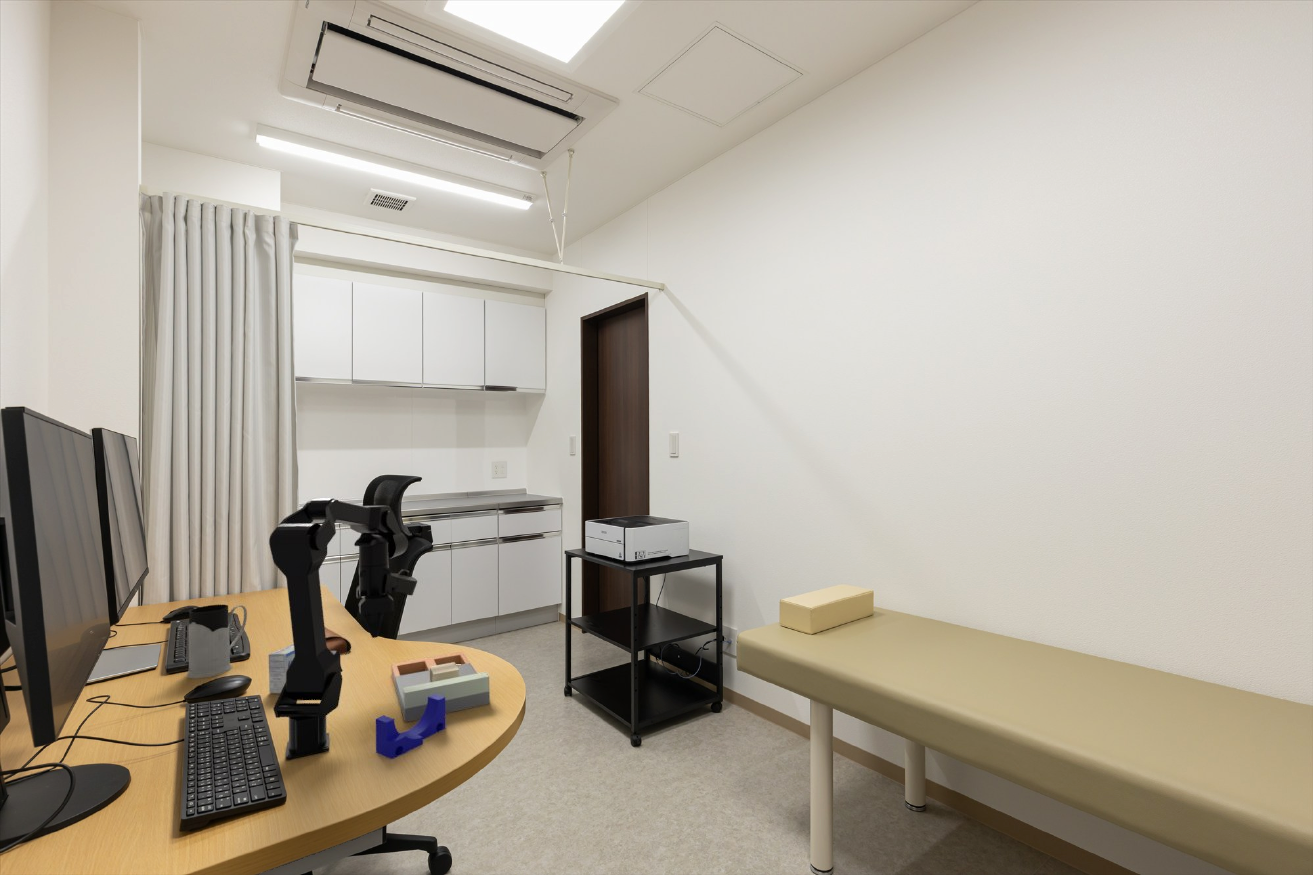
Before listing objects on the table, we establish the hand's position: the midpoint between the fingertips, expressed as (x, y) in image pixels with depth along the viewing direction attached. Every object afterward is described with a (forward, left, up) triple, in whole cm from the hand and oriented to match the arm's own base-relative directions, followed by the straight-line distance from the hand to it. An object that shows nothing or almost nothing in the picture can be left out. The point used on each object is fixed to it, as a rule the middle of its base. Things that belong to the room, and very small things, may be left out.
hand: (374, 637), depth 129 cm
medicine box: (+14, +16, -12) cm, 25 cm away
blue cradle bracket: (-27, -5, -12) cm, 30 cm away
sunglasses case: (+41, +10, -13) cm, 44 cm away
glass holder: (+38, +32, -12) cm, 51 cm away
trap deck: (-4, -12, -12) cm, 17 cm away
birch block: (-11, -12, -10) cm, 19 cm away
